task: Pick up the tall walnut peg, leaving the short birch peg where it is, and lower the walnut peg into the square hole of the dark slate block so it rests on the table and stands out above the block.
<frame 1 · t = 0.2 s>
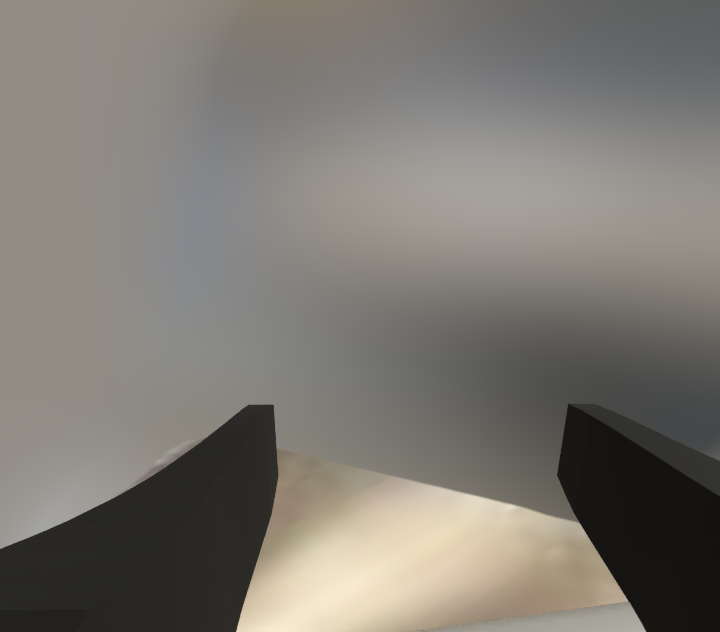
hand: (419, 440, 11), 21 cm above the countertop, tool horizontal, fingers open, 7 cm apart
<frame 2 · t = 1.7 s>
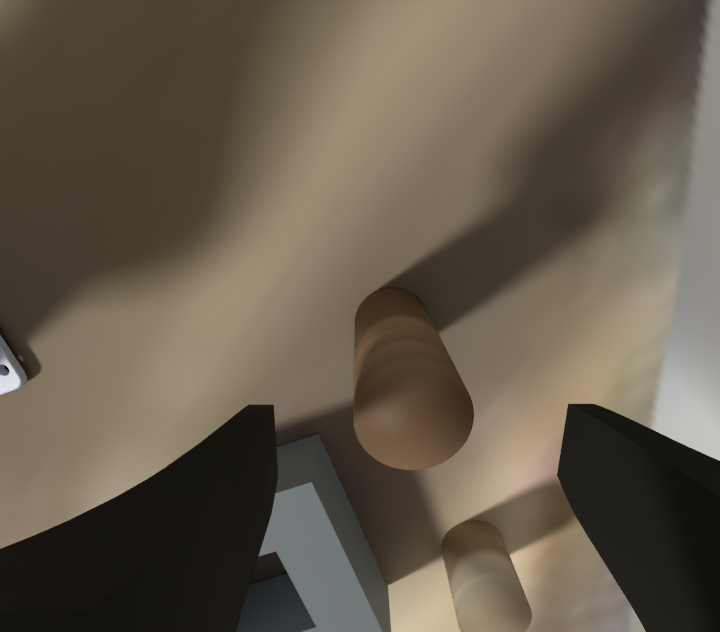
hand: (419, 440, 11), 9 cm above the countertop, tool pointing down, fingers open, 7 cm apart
birch peg: (472, 545, 23), on the countertop
hole block: (264, 542, 23), on the countertop
walnut peg: (391, 323, 20), on the countertop
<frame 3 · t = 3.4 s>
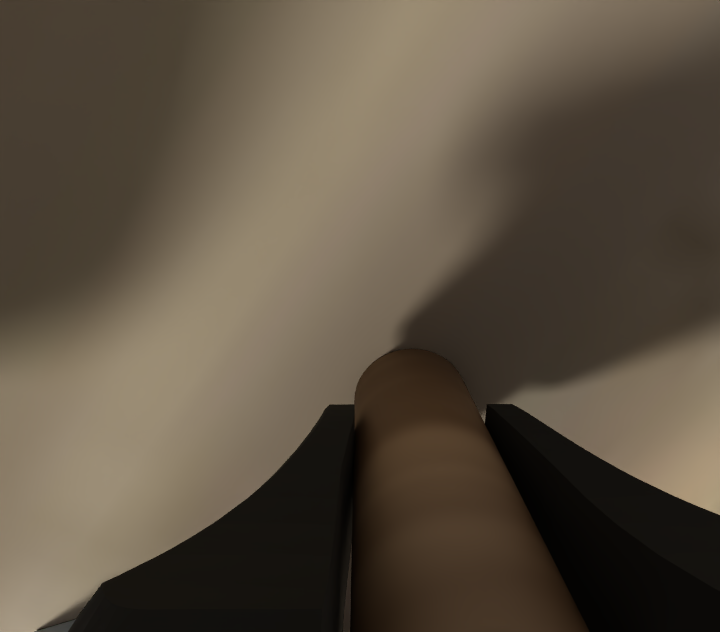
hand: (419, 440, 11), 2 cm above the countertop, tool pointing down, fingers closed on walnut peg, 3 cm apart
walnut peg: (410, 400, 13), on the countertop, touching gripper
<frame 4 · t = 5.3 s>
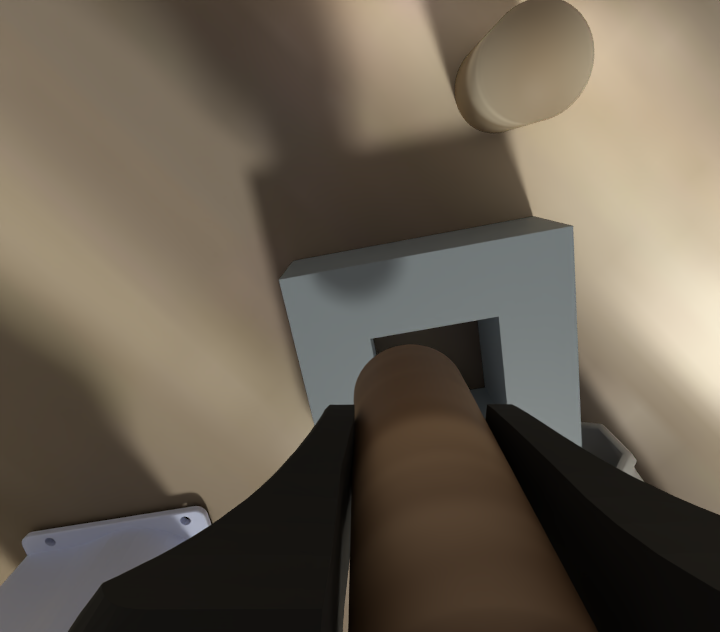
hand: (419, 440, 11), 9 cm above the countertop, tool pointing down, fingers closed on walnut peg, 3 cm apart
tube: (655, 585, 25), on the countertop
birch peg: (497, 87, 17), on the countertop
hole block: (428, 350, 20), on the countertop
walnut peg: (409, 396, 13), point 7 cm above the countertop, touching gripper
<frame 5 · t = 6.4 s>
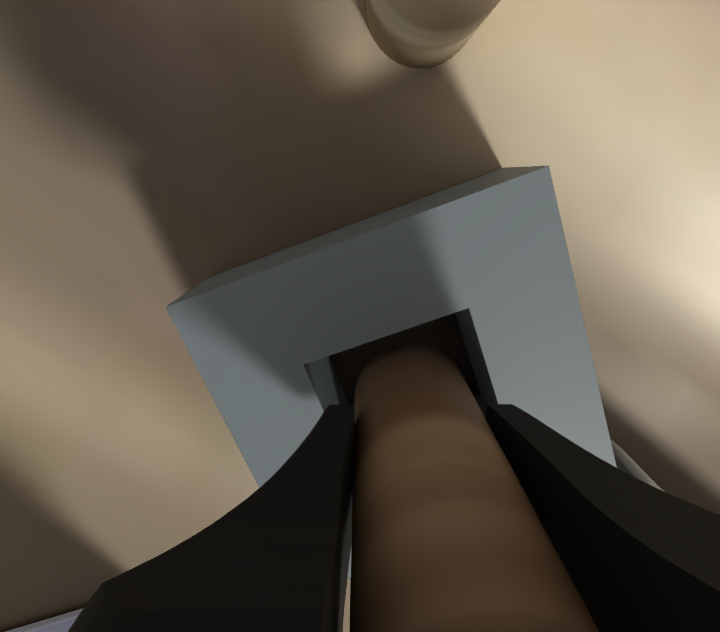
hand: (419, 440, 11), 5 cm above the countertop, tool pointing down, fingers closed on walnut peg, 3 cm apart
birch peg: (422, 4, 13), on the countertop
hole block: (400, 360, 16), on the countertop
walnut peg: (410, 396, 13), point 3 cm above the countertop, touching gripper
when the fingers open (4 cm above the countertop, at t = 7.3 s): walnut peg drops 2 cm, resting in hole block.
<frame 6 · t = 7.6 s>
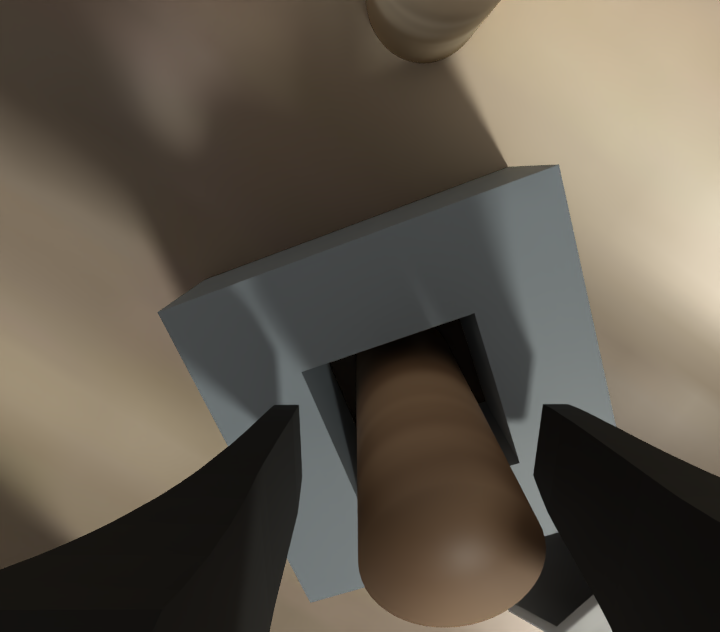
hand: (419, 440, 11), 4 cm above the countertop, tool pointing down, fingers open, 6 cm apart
hole block: (402, 365, 15), on the countertop
walnut peg: (403, 362, 15), resting in hole block
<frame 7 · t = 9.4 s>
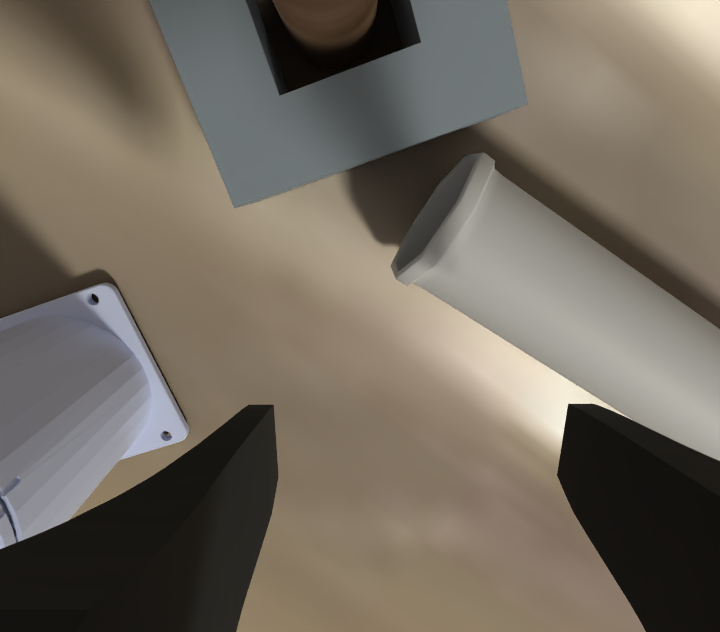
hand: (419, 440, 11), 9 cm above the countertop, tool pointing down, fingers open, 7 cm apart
tube: (640, 354, 21), on the countertop
hole block: (330, 24, 16), on the countertop
walnut peg: (331, 20, 16), resting in hole block
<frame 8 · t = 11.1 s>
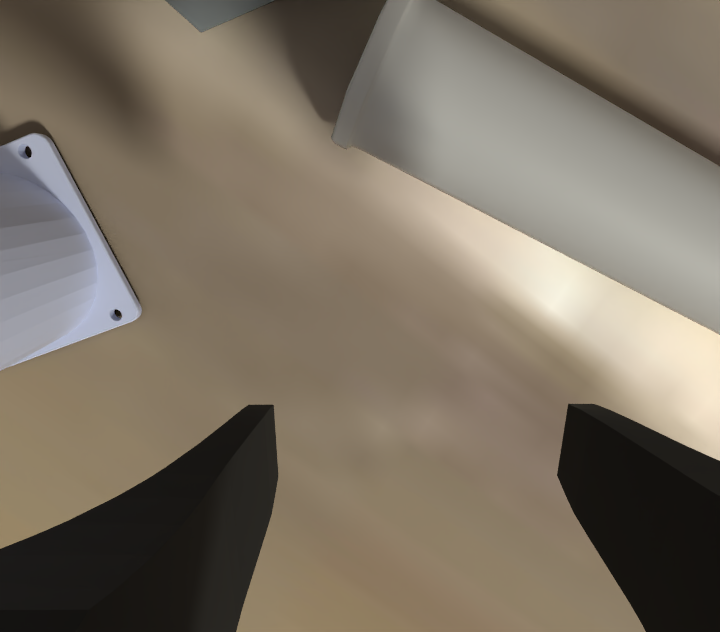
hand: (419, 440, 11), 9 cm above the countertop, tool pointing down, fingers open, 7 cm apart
tube: (626, 223, 19), on the countertop
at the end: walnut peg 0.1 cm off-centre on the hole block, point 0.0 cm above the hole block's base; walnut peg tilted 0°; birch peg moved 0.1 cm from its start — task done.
